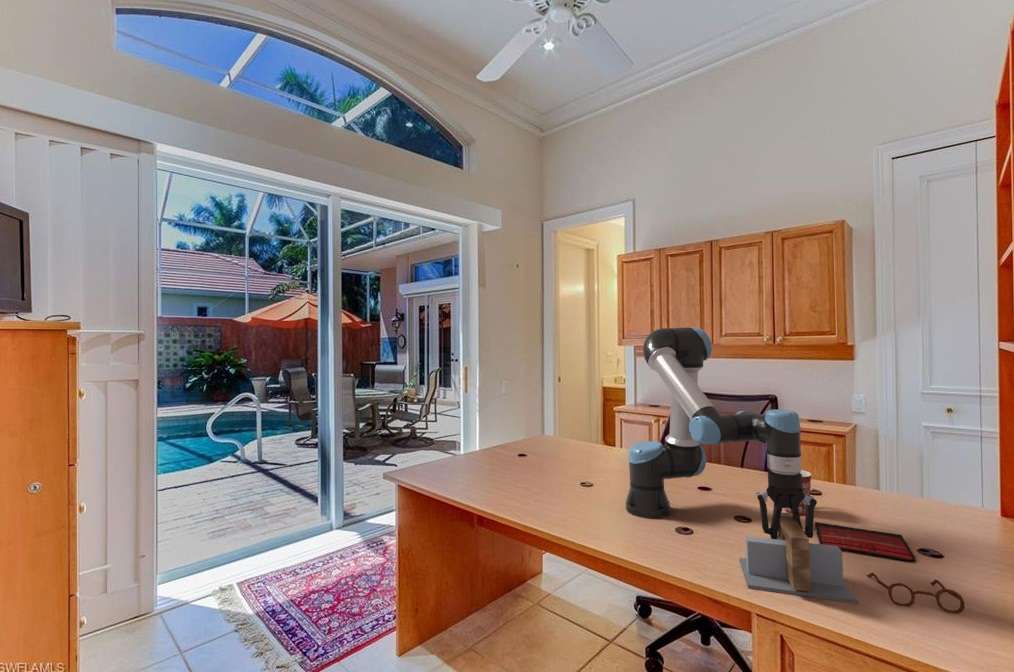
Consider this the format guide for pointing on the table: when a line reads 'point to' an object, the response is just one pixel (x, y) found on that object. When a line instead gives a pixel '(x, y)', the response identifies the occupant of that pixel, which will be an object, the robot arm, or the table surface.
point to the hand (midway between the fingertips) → (788, 562)
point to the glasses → (923, 594)
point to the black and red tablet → (865, 541)
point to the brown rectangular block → (795, 552)
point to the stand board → (770, 569)
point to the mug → (806, 489)
